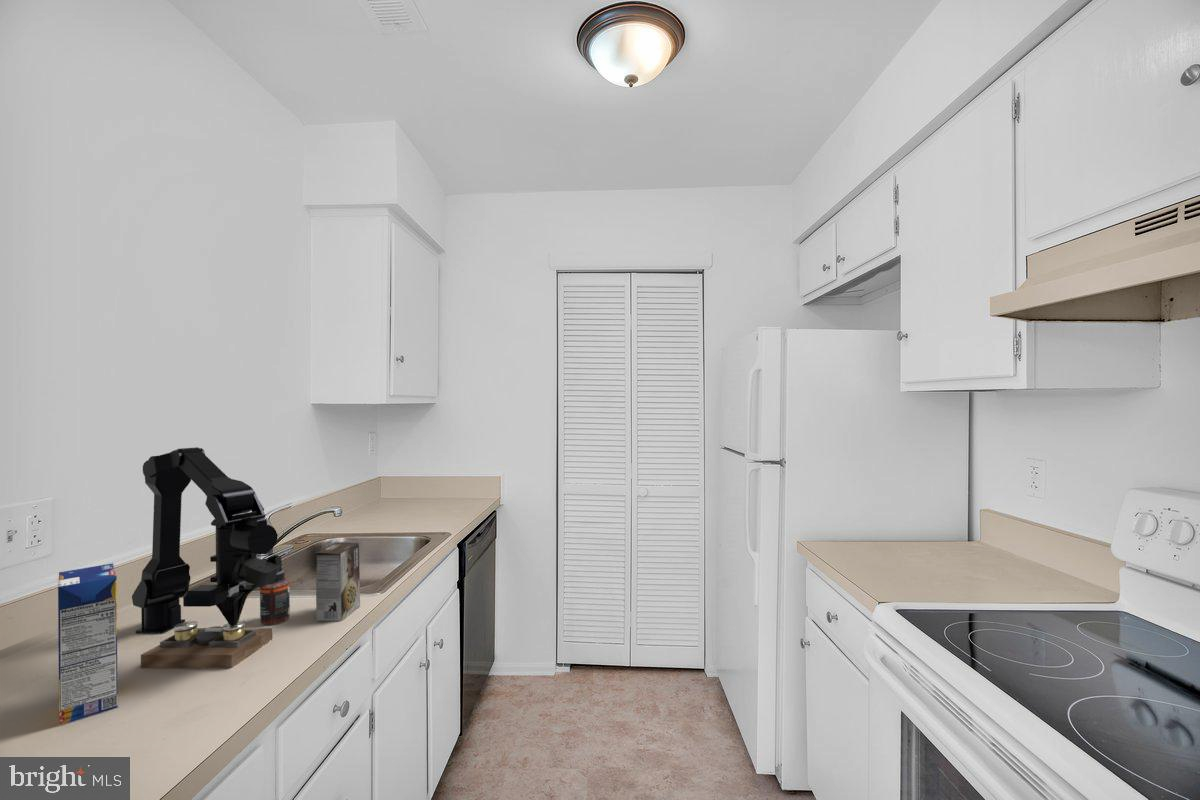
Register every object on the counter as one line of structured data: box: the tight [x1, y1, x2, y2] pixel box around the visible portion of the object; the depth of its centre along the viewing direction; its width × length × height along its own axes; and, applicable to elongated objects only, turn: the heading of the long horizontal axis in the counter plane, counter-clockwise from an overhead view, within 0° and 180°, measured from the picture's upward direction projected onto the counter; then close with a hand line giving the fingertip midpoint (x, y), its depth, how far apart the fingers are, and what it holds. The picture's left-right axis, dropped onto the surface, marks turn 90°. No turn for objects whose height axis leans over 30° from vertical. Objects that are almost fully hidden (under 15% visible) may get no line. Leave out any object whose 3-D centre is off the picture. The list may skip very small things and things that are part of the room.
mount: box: [140, 627, 274, 669], centre depth 107 cm, size 18×12×4 cm, turn 88°
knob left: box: [173, 620, 199, 641], centre depth 107 cm, size 4×4×6 cm
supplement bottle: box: [259, 569, 291, 626], centre depth 123 cm, size 6×6×11 cm
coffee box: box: [314, 541, 361, 622], centre depth 127 cm, size 9×6×16 cm
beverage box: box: [57, 563, 119, 726], centre depth 89 cm, size 7×11×22 cm, turn 45°
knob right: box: [221, 620, 246, 641], centre depth 107 cm, size 4×4×6 cm
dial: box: [196, 625, 223, 645], centre depth 107 cm, size 5×4×2 cm
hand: (233, 624), depth 107 cm, fingers closed, pressing on knob right
